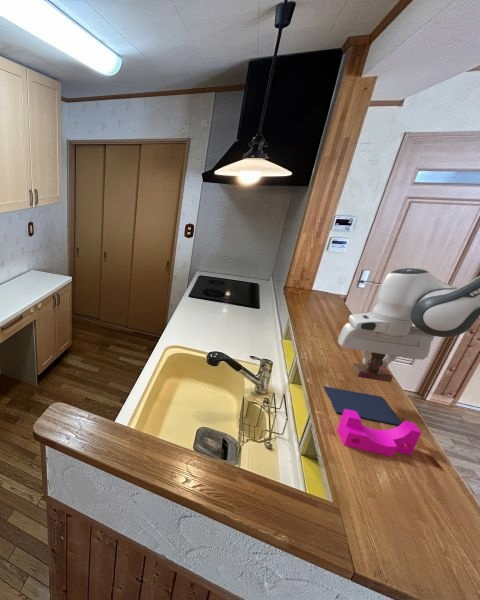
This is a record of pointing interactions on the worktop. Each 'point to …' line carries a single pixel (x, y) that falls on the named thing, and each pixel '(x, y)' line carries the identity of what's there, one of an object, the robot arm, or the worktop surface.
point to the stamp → (373, 369)
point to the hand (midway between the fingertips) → (374, 365)
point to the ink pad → (362, 405)
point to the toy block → (377, 436)
